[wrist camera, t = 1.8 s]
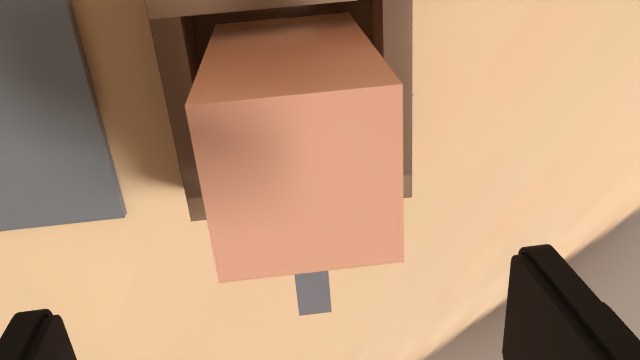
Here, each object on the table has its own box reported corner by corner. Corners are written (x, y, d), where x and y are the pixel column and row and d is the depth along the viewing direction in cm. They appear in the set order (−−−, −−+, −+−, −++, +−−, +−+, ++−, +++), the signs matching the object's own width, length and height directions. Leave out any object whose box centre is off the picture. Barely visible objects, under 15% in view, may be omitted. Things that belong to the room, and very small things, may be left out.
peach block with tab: (348, 12, 25) (402, 84, 15) (357, 187, 29) (404, 331, 19) (215, 24, 25) (184, 105, 15) (243, 199, 29) (232, 352, 19)
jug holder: (396, -44, 24) (412, -37, 22) (398, 169, 29) (411, 197, 26) (155, -23, 24) (142, -13, 21) (198, 191, 28) (191, 221, 26)
